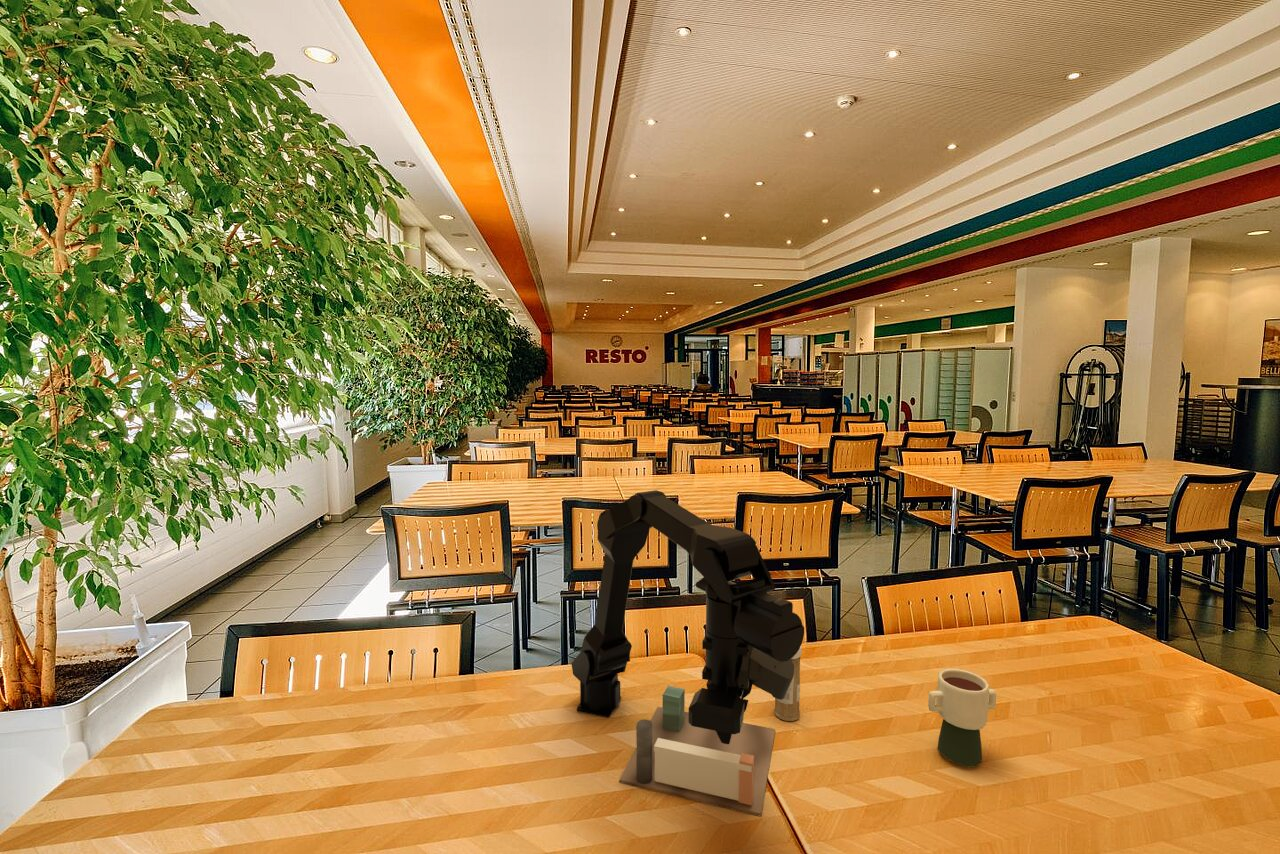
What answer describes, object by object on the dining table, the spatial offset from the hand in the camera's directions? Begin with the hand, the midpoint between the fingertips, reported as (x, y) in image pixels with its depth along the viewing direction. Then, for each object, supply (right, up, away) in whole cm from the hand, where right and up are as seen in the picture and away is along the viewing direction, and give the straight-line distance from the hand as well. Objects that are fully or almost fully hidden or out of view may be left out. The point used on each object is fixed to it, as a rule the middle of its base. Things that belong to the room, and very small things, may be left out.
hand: (726, 741), depth 77 cm
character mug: (+39, -11, +15) cm, 43 cm away
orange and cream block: (-2, -11, +7) cm, 13 cm away
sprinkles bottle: (+15, -10, +26) cm, 32 cm away
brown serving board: (-2, -11, +15) cm, 19 cm away
